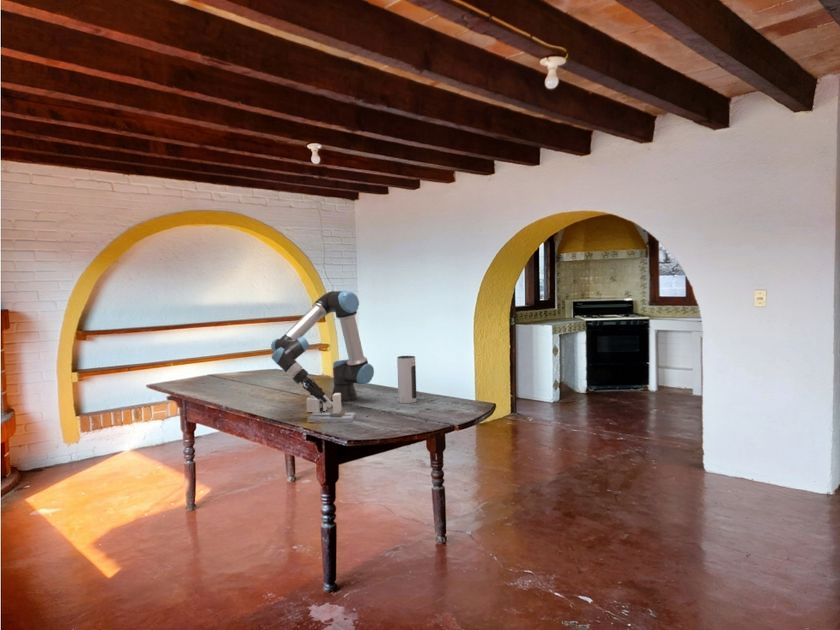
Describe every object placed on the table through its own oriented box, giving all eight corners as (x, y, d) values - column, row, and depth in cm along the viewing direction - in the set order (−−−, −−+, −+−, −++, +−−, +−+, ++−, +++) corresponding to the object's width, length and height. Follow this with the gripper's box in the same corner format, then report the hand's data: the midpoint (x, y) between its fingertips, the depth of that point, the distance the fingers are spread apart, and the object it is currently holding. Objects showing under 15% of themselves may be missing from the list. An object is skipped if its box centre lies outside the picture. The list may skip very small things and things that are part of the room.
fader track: (313, 416, 302) (313, 412, 302) (355, 416, 301) (355, 412, 301) (306, 422, 291) (306, 418, 290) (350, 422, 289) (350, 418, 289)
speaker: (409, 404, 325) (408, 357, 324) (394, 402, 331) (393, 356, 329) (420, 401, 334) (419, 355, 332) (405, 399, 340) (404, 354, 338)
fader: (333, 413, 299) (332, 392, 299) (344, 412, 299) (344, 392, 298) (329, 416, 291) (328, 395, 291) (341, 416, 291) (340, 395, 290)
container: (327, 411, 315) (326, 386, 314) (317, 414, 308) (316, 389, 307) (316, 409, 319) (315, 385, 318) (306, 412, 312) (305, 388, 311)
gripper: (296, 376, 302) (329, 408, 301) (288, 380, 289) (323, 414, 289) (306, 365, 301) (339, 398, 301) (298, 370, 288) (333, 403, 288)
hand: (331, 406), depth 295 cm, fingers closed
